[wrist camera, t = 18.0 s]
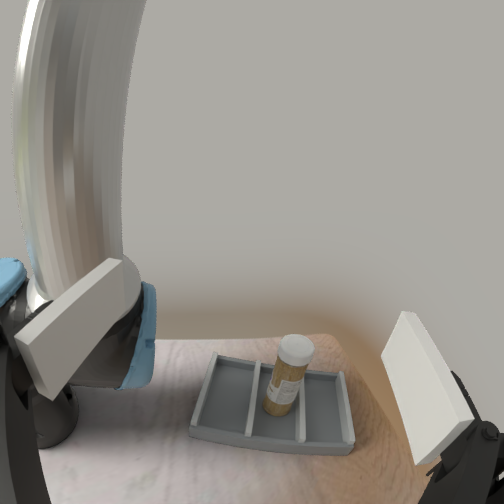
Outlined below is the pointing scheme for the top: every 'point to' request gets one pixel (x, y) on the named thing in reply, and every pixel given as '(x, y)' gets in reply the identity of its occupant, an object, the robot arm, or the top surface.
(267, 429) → the tray
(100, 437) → the top surface
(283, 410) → the spice jar
